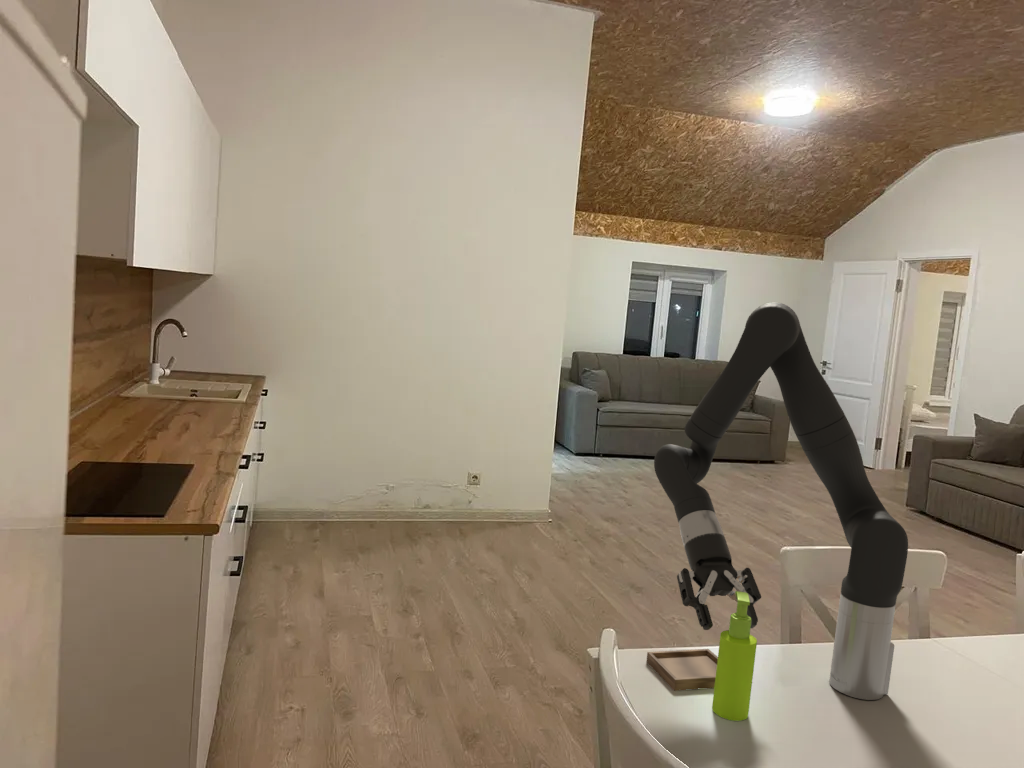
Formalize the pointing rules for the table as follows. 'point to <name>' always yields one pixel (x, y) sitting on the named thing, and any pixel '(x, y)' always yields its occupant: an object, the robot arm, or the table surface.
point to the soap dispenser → (735, 665)
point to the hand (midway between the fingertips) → (731, 627)
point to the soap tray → (685, 668)
